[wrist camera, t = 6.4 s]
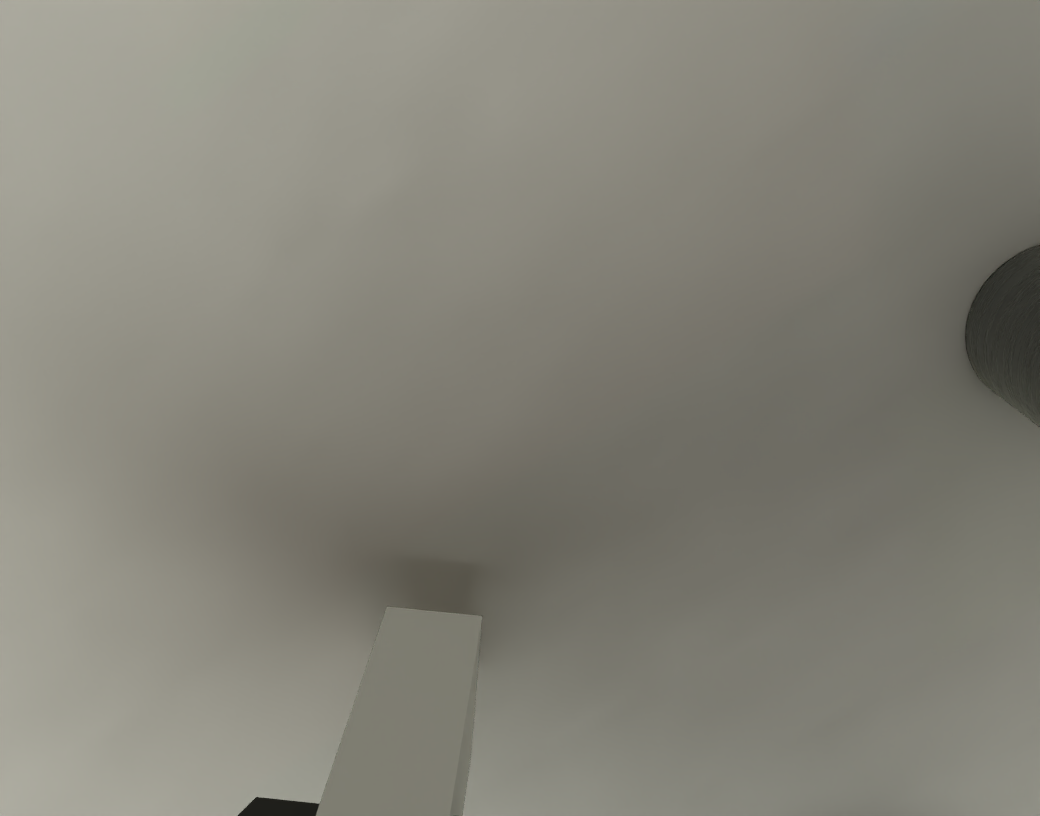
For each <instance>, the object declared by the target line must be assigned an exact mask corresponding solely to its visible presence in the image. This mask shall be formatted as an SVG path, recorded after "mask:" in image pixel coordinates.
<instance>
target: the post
mask: <svg viewBox="0 0 1040 816" xmlns="http://www.w3.org/2000/svg"><path fill="white" fill-rule="evenodd" d="M966 348H967V353H968V357H969V360H970V362H971V365H972V367H973V369H974V371H975V372H976V374H977V376H978V377H979V378H980V379H981V380H982V382H983V383H984V384H985V385H986V386H987V387H989V388H990V389H991V390H992V391H993V392H995V393H996V394H997V395H999V396H1000V397H1001V398H1002V399H1004V400H1005V401H1006V402H1008V403H1009V404H1010V405H1011V406H1013V407H1014V408H1015V409H1017V410H1018V411H1019V412H1020V413H1022V414H1023V415H1024V416H1026V417H1027V418H1028V419H1029V420H1031V421H1032V422H1033V423H1035V424H1036V425H1037V426H1038V427H1040V245H1038V246H1035V247H1032V248H1030V249H1028V250H1026V251H1024V252H1022V253H1020V254H1018V255H1017V256H1015V257H1013V258H1012V259H1010V260H1009V261H1008V262H1006V263H1005V264H1004V265H1002V266H1001V267H1000V268H999V269H998V270H997V271H996V272H995V273H994V274H993V275H992V276H991V277H990V278H989V279H988V281H987V282H986V283H985V284H984V286H983V287H982V289H981V290H980V292H979V293H978V295H977V297H976V299H975V301H974V303H973V305H972V308H971V311H970V314H969V316H968V321H967V326H966Z"/></svg>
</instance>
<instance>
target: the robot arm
mask: <svg viewBox="0 0 1040 816" xmlns="http://www.w3.org/2000/svg"><path fill="white" fill-rule="evenodd" d="M481 626H482V616H477V615H467V614H458V613H448V612H438V611H428V610H418V609H408V608H398V607H389V606H387V608H386V611H385V614H384V617H383V620H382V622H381V625H380V628H379V631H378V634H377V637H376V640H375V643H374V646H373V649H372V652H371V655H370V658H369V661H368V664H367V666H366V669H365V672H364V675H363V678H362V681H361V684H360V687H359V690H358V693H357V696H356V699H355V702H354V705H353V708H352V710H351V713H350V716H349V719H348V722H347V725H346V728H345V731H344V734H343V737H342V740H341V743H340V746H339V749H338V752H337V754H336V757H335V760H334V763H333V766H332V769H331V772H330V775H329V778H328V781H327V784H326V787H325V790H324V793H323V796H322V798H321V801H320V804H316V803H307V802H297V801H288V800H278V799H269V798H259V797H256V798H255V799H254V800H253V801H252V802H251V803H250V804H249V805H248V806H247V807H246V808H245V809H244V810H243V811H242V812H241V813H240V814H239V815H238V816H462V815H463V808H464V801H465V794H466V787H467V780H468V773H469V767H470V760H471V751H472V738H473V726H474V713H475V701H476V688H477V676H478V663H479V651H480V638H481Z"/></svg>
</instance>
